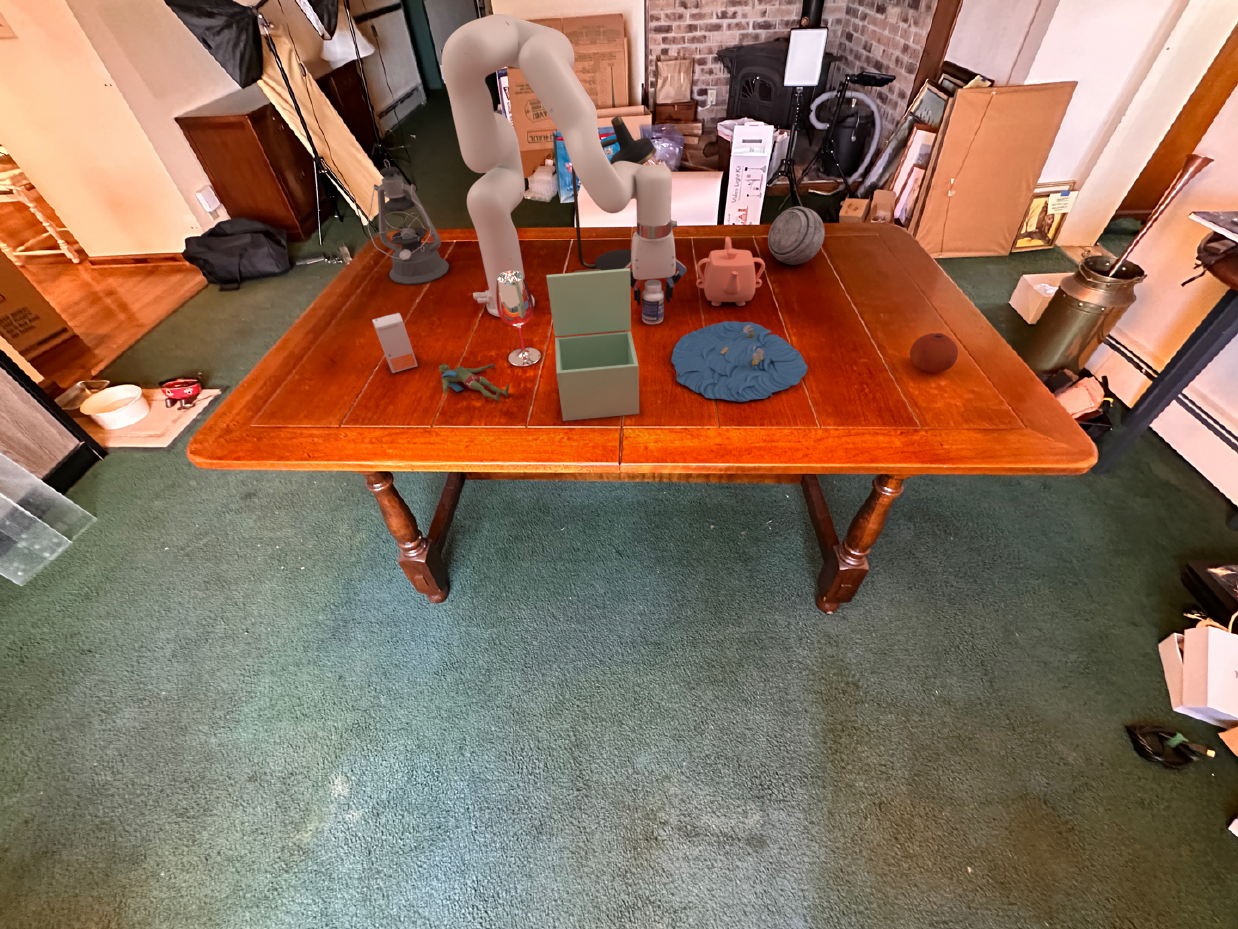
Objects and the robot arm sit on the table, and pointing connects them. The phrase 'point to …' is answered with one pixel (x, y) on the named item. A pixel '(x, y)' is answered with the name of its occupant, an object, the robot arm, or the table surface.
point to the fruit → (934, 352)
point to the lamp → (628, 152)
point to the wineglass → (516, 312)
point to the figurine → (469, 380)
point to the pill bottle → (653, 302)
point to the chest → (597, 375)
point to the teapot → (729, 275)
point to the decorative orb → (796, 235)
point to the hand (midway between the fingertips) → (653, 300)
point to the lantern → (407, 233)
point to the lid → (590, 301)
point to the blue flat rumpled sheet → (736, 362)
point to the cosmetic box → (395, 342)
